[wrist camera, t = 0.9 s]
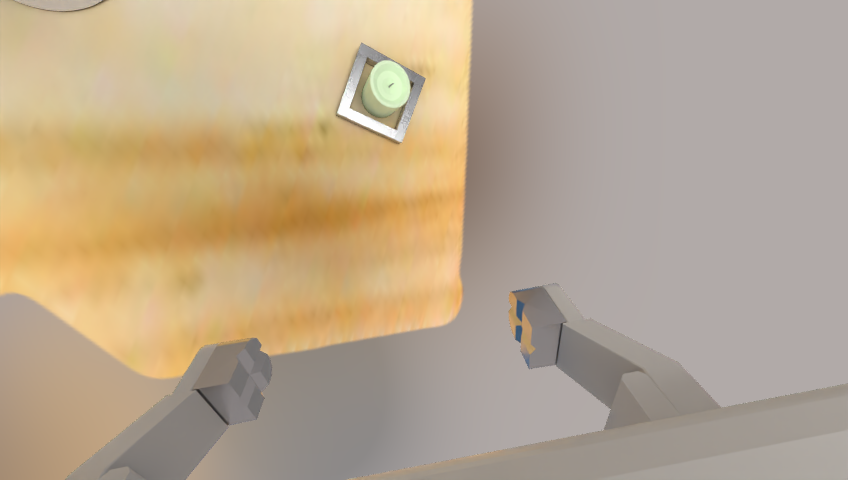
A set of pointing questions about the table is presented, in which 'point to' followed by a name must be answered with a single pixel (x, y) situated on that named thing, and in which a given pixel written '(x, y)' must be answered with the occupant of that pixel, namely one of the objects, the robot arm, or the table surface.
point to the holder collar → (363, 121)
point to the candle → (385, 89)
